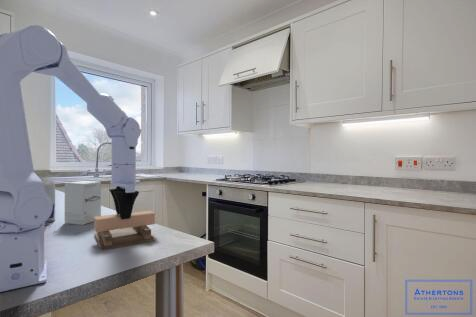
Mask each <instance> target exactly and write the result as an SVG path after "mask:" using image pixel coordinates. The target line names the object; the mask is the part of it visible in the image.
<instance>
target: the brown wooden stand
mask: <svg viewBox="0 0 476 317" xmlns="http://www.w3.org/2000/svg"><path fill="white" fill-rule="evenodd" d="M93 234H94V235H93V236H94V238H95V240H96V242H97V244H98V246H99V249H100V251H103V250H104V251H105V250H110V249H115V248H121V247H126V246H132V245H138V244H143V243H148V242H153V241H155V237H154V236H153V235H152V229H151V228H150V227H149V225H146V226H138V227H131V228H124V229H117V230H110V231H102V232H94V233H93Z"/></svg>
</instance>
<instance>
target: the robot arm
mask: <svg viewBox="0 0 476 317" xmlns="http://www.w3.org/2000/svg"><path fill="white" fill-rule="evenodd" d="M31 73H37V74H42V75H46V76H51V77H55V78H57V79H58V80H59V81H60V82H61V83H62V84H64V85H65V86H66V87H67V88H68V89H69V90H71V91H72V92H73V93H74V94H76V95H77V96H78V97H79V98H81V99H82V101H84V102H85V103H86V110H87V112H88V113H89V114H90V115H91V116H92V117H94V118H95V119H96V120H97V121H98V122H99V123H100V124H101V125H102V126H103V127H104V129H105V133H106V135H107V137H108V138H110V139H111V181H110V186H114V187H115V188H109V189H108V190H109V192H110V194H111V197H112V198H113V202H114V207H115V212H116V214H120V217H121V219H130V217H131V214H132V212H133V208H134V205H135V203H136V202H135V201H136V199H137V197H138V196H139V194H140V192H139V191H138V190H136V185H137V184H141V180H139V179H138V180H137V179H136V177H137V176H136V172H137V171H136V170H137V168H136V166H137V165H136V164H137V161H136V159H137V157H136V156H137V154H136V153H137V146H138V144H139V143H138V142H139V138H140V137H141V133H142V129H141V127H140V123H139V122H138V120H136V119H135V118H134V117H130V116H128V115H127V113H126V112H125V111H124V110H123V109H121V107H119V106H118V104H117V103H116V102H115V101H114V100H115V99H114V98H113V97H112V96H111V95H108V94H106V93H99V91H98V90H97V89H96V88H95V87H94V85H92V83H91V82H90V80H88V78H87V77H86V76H85V75H84V74H83V73H82V71H81V70H80V69H79V68H78V67H77V65H76V64H75V63H74V62H73V60H71V58H70V55H69V53H68V49H67V47H66V46H65V45H64V44H63V43H62V42H61V41H59V39H58V38H57V37H56V35H55V34H54V33H53V32H52V31H51V30H50V29H48V28H46V27H44V26H41V25H38V24H33V25H29V26H26V27H24V28H22V29H17V30H15V31H14V30H13V31H11V32H8V33H7V32H6V33H2V34H0V293H2V292H7V291H10V290H16V289H19V288H25V287H29V286H33V285H39V284H42V283H45V282H47V281H48V280H47V276H48V261H47V260H45V225H46V223H45V222H46V220H47V219H48V218H49V217H50V215H51V213H52V209H53V203H52V200H51V198H50V197H49V196H48V195H47V193H46V191H45V188H44V183H45V182H43V180H41V178H40V177H39V176H38V174H36V172H35V171H34V164H33V159H32V152H31V145H30V140H29V139H30V138H29V132H28V126H27V119H26V114H25V107H24V101H23V93H22V87H21V86H22V85H21V81H22V80H24V79H25V78H26V77H28V76H29V75H30V74H31Z"/></svg>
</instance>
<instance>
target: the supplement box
mask: <svg viewBox="0 0 476 317" xmlns="http://www.w3.org/2000/svg"><path fill="white" fill-rule="evenodd" d="M101 212H102V181H100V180H99V181H93V180H81V181H72V182H71V181H70V182H65V183H64V224H69V225H70V224H71V225H77V226H78V225H80V226H85V225H86V224H89V223H94V217H95V216H102V214H101Z"/></svg>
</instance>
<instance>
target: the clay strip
mask: <svg viewBox="0 0 476 317" xmlns="http://www.w3.org/2000/svg"><path fill="white" fill-rule="evenodd" d="M155 224H156V213H155V212H153V211H152V210H144V211H132V214H131V217H130V219H121V217H120V214H117V213H115V214H109V215H107V214H106V215H101V216H95V217H94V221H93V229H94V231H95V233H98V232H102V231H112V230H118V229H125V228H132V227H138V226H151V225H152V226H153V225H155Z"/></svg>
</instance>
